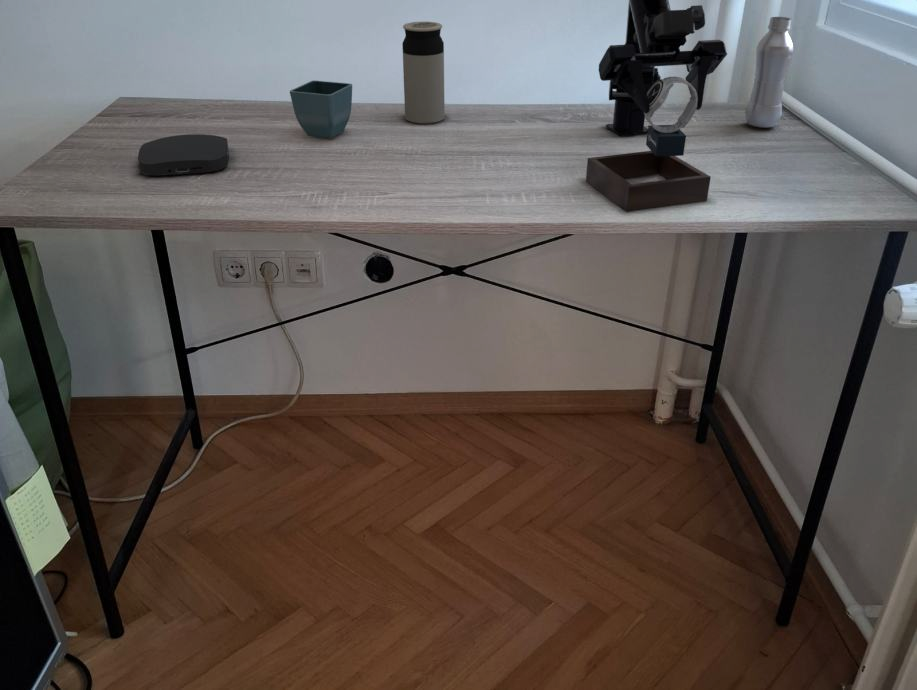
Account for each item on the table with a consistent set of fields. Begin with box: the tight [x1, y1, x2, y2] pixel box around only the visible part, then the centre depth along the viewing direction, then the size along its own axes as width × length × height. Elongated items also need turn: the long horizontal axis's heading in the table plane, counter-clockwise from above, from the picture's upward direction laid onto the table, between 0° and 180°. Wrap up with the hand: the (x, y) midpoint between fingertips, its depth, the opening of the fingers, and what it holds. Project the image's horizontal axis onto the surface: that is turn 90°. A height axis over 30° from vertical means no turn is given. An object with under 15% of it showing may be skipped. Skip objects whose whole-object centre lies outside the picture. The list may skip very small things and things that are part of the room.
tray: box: [585, 150, 712, 213], centre depth 132 cm, size 14×14×4 cm
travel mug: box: [402, 21, 446, 125], centre depth 163 cm, size 8×8×18 cm
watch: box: [644, 76, 698, 157], centre depth 127 cm, size 6×8×11 cm
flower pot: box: [289, 80, 353, 140], centre depth 156 cm, size 9×9×9 cm
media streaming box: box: [137, 133, 230, 176], centre depth 144 cm, size 15×15×3 cm
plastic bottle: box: [745, 16, 794, 129], centre depth 157 cm, size 6×7×20 cm
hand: (673, 110), depth 125 cm, fingers closed on watch, 8 cm apart
